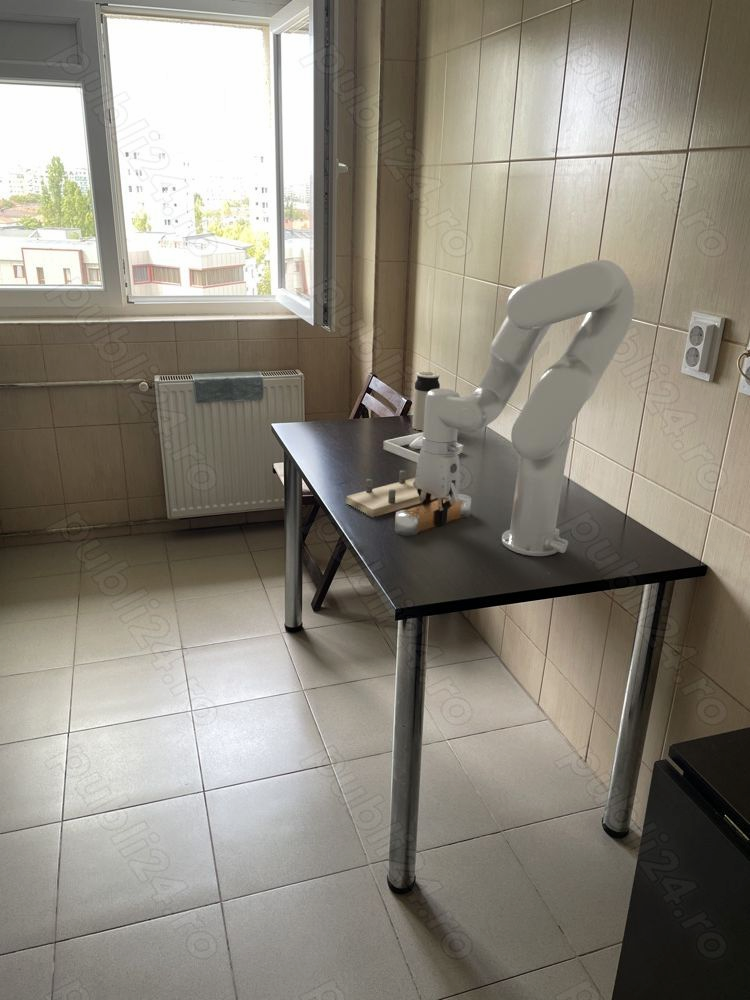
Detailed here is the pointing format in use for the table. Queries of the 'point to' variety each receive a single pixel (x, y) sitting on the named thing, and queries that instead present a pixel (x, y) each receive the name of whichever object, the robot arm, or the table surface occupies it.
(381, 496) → the tool rack
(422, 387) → the travel mug
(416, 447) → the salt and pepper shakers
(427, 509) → the orange dumbbell
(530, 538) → the robot arm
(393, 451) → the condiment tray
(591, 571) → the table surface
